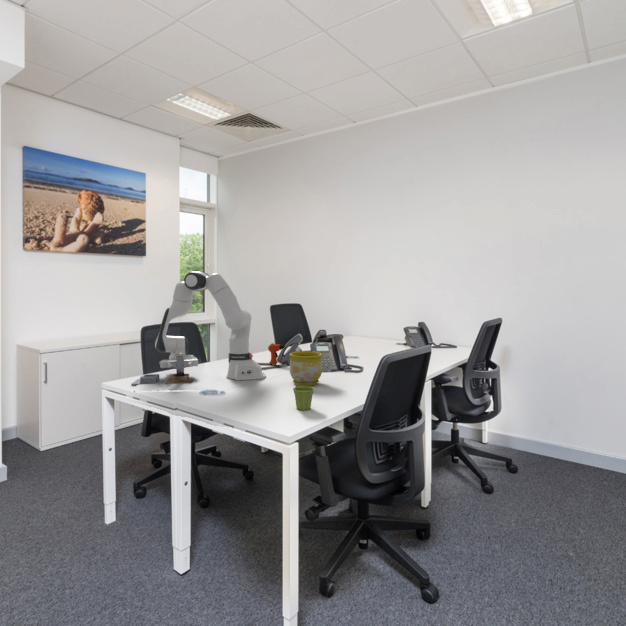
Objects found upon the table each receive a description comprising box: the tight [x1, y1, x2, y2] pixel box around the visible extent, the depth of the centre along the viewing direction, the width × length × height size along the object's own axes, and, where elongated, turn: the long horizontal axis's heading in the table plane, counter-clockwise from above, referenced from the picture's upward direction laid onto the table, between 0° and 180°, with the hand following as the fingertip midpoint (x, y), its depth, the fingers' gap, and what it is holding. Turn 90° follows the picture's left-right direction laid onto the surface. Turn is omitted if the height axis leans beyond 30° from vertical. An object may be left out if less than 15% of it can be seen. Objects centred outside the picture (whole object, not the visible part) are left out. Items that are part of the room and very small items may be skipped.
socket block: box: [164, 373, 196, 385], centre depth 235 cm, size 14×14×4 cm
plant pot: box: [292, 386, 315, 411], centre depth 187 cm, size 9×9×9 cm
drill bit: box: [175, 353, 185, 376], centre depth 235 cm, size 4×4×15 cm
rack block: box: [130, 373, 168, 386], centre depth 233 cm, size 16×12×4 cm
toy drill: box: [267, 343, 286, 364], centre depth 288 cm, size 5×19×15 cm, turn 57°
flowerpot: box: [289, 350, 323, 387], centre depth 235 cm, size 18×18×16 cm
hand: (180, 365), depth 234 cm, fingers open, 8 cm apart
